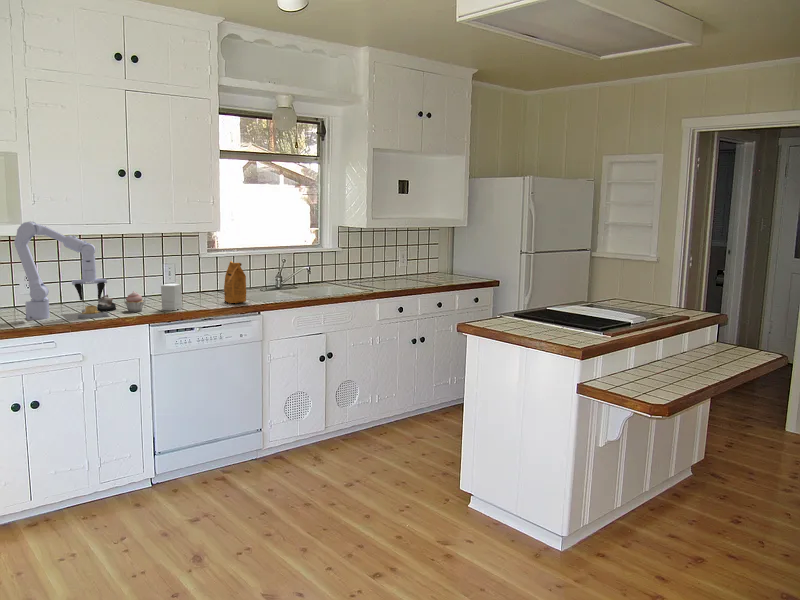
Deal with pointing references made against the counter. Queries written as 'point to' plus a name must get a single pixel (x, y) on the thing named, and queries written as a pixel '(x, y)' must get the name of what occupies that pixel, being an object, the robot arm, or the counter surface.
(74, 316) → the carrier
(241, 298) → the coffee package
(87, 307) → the planet gear
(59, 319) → the counter surface
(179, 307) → the supplement box
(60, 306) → the counter surface
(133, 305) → the cupcake
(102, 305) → the caster wheel
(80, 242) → the robot arm
